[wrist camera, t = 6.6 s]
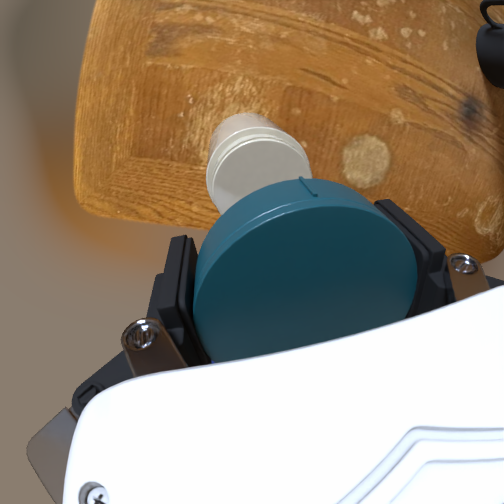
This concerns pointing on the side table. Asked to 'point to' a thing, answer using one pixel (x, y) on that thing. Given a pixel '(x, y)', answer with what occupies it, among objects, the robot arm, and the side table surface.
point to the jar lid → (299, 271)
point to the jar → (250, 158)
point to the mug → (491, 46)
